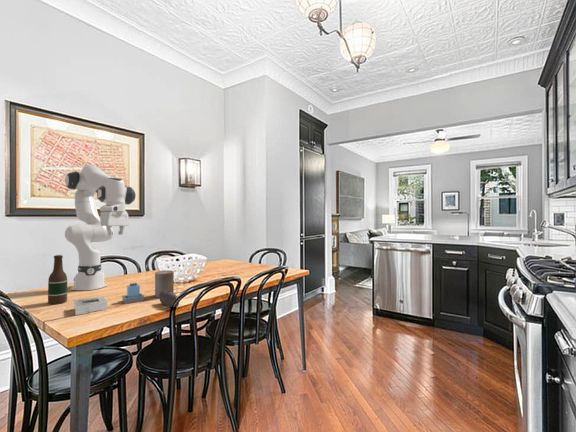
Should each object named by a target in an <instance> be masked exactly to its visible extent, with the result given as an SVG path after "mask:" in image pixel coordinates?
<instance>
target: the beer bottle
mask: <svg viewBox="0 0 576 432" xmlns="http://www.w3.org/2000/svg"><path fill="white" fill-rule="evenodd" d="M63 258H64V257H63V255H62V254H56V255H54V256H53V270H52V272H51V273H50V275H49V276H48V281H47V282H48V287H47V290H48V291H47V303H48V305H52V306H53V305H55V306H57V305H61V304H64V303H66V302H67V301H68V276H67V274H66V272H65V271H64V266H63V265H64V264H63Z"/></svg>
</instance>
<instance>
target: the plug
mask: <svg viewBox="0 0 576 432" xmlns="http://www.w3.org/2000/svg"><path fill="white" fill-rule="evenodd" d="M140 287H141V285H140V284H138V283H137V282H131V283H129V284H128V285H126V295H127V298H131V297H139V296H140Z"/></svg>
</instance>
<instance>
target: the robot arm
mask: <svg viewBox="0 0 576 432" xmlns="http://www.w3.org/2000/svg"><path fill="white" fill-rule="evenodd" d="M64 184H65V187H67V189H69V190H76V191H75V193H74V207H75V213H76V218H77V219H78V220H80V221H81V222H84V224H83V223H82V224H73V225H68V226H67V228H66V229H65V231H64V237H65V239H66V241H67V242H69V243H71V244H72V245H73V246H74V247H75V249H76V251H77V253H78V267H77V274H75V275H74V278H73V284H72V287H70V291H93V290H99V289H102V288H105V287H108V284H107V283H105V273H104V272H103V271H102V264H101V253H102V252H101V251H100V250H99V249H97V248H96V247H93V246H91V243H99V242H103V243H104V242H106V241H110V240H112V238H113V237H114V234H115V232H114V229H113V227H118V228H119V230H118V233H117V234H118V235H124V230H125V227H127V226H128V227H129V224H130V217H129V213H128V212H127V210H126V205H131V204H133V202H134V201H135V200H136V196H137V195H136V192H135V190H134V188H132V187H131V186H127V185H126V184H125V181H124V179H122V178H118V177H117V178H116V177H113V176H112V175H109V174H107V173H106V172H104V170H102V169H101V168H100V167H99V166H97V165H95V164H86V165H84V166H83V167H82V169H81V171H80V172H79V171H77V170H76V171H72V172H68V173H66V175H65V177H64ZM95 193H96V198H97V200H98V201H99V202H100V203H103V204H104V205H102V206H100V207H99V211H100V214H99V212H98V208H97V203H96V202H97V201H96V199H95Z"/></svg>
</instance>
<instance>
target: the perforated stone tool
mask: <svg viewBox="0 0 576 432" xmlns="http://www.w3.org/2000/svg"><path fill="white" fill-rule="evenodd" d="M176 297H178V295H176V294H175V293H174V292H173V293H172V292H170V291H167V290H164V291H162V292H161V293H160V298H159V302H160V303H161V304H162V305H163V306H167V307H168V308H171V306H172V304H173V302H174V300H175V299H176ZM179 305H180V301H179V302H178V304H177V305H176V308H178V307H179ZM176 308H175V309H176Z"/></svg>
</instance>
